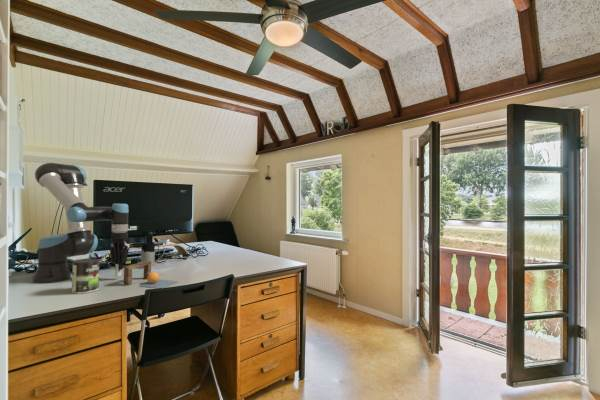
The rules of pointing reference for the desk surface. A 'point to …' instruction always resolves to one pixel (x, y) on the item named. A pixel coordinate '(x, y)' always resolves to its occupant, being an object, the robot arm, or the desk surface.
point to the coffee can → (85, 276)
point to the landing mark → (159, 284)
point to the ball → (153, 278)
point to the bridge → (129, 268)
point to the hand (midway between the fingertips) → (118, 275)
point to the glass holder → (149, 253)
